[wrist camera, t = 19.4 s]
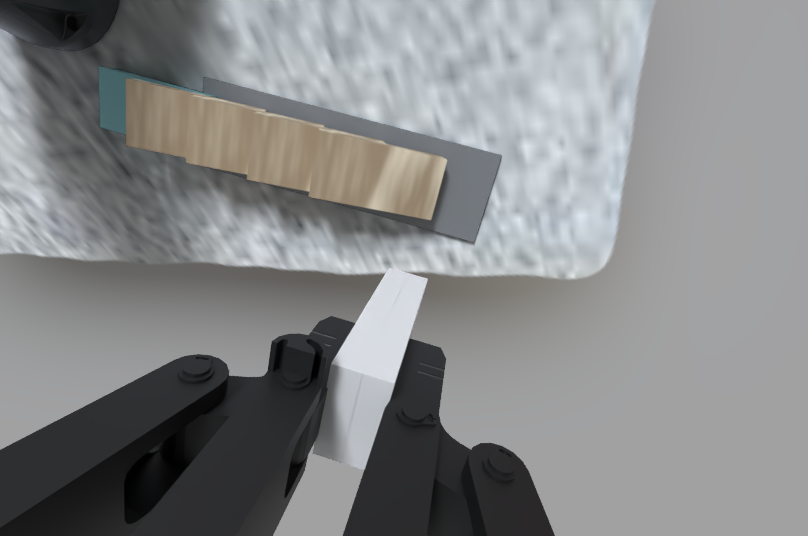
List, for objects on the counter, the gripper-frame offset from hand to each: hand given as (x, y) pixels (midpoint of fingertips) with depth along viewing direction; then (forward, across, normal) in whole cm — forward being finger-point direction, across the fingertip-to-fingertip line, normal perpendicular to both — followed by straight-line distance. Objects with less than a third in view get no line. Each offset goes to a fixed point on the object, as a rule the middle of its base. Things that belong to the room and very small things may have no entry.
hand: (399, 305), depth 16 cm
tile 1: (+27, -1, 0) cm, 27 cm away
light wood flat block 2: (+27, -7, 0) cm, 28 cm away
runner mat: (+28, -12, 0) cm, 31 cm away
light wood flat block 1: (+27, -20, 0) cm, 33 cm away
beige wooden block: (+27, -13, 0) cm, 30 cm away
